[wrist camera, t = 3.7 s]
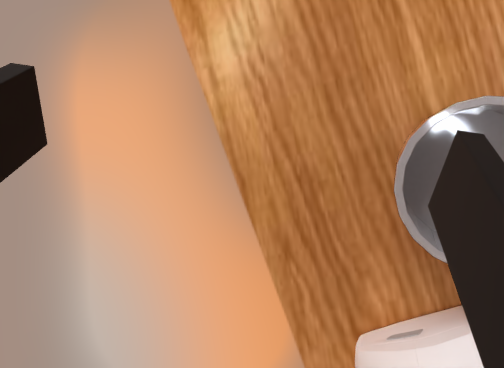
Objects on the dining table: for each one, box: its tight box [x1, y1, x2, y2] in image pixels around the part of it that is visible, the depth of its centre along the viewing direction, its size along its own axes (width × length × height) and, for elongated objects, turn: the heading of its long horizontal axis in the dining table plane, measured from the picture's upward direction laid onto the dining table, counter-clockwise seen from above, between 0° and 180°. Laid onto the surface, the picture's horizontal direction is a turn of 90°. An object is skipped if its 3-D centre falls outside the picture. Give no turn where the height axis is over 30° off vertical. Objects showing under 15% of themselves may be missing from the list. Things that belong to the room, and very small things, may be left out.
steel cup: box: [394, 96, 504, 264], centre depth 28 cm, size 10×10×7 cm
